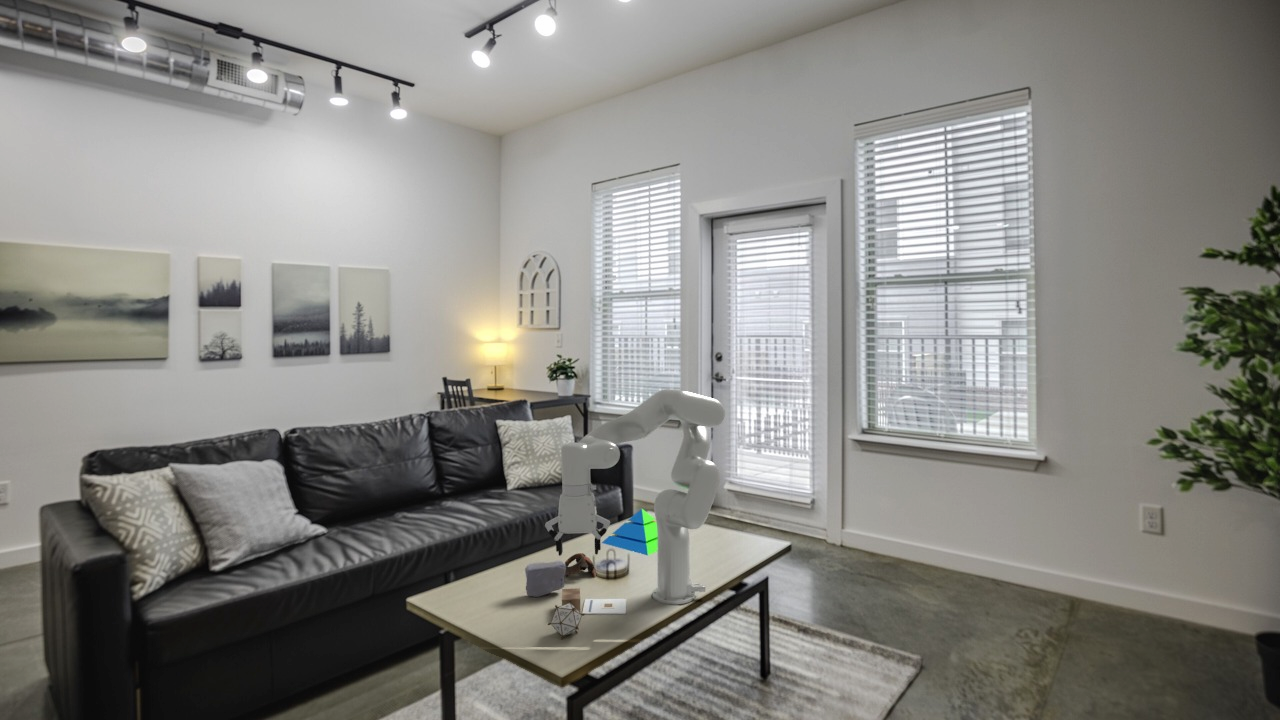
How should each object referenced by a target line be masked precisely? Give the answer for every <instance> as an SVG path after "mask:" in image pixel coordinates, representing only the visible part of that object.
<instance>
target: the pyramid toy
mask: <svg viewBox="0 0 1280 720" xmlns="http://www.w3.org/2000/svg"><path fill="white" fill-rule="evenodd" d="M601 544H604V545H608V546H612V547H615V548H619V549H623V550H627V551H630V552H633V551H634V552H633V553H637V554H640V553H641V555H645V556H651V555H652V554H654V553H656V552H657V553H658V548H657V544H658V535H657V523H656V517H655V518H654V516H652V515H651V514H650V513H648V512H647V511H646V510H645V509H643V508H641V509H639V510H638V511H637V512H636V513H635V514H634V515H633V516H631V517H630V518H629V519H627V521H626V522H624V523H623V524H622V525H620V526H619V527H618V528H617V529H616V530H615V531H613V533H611V535H609V536H608V537H607V538H605V539H603V541H602V542H601Z"/></svg>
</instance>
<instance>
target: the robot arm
mask: <svg viewBox="0 0 1280 720" xmlns="http://www.w3.org/2000/svg"><path fill="white" fill-rule="evenodd" d="M725 414H726V410H725V408H724V405H723V404H722V402H720V401H719V400H718V399H716V398H712V397H709V396H704V395H702V394H698V393H695V392H694V393H693V392H690V391H686V390H681V389H661V390H659V391H657V392H656V393H654V394H652V395H651V396H650V397H648V398H647V399H646V400H645V401H643V402H642V403H641V404H639V405H638V406H636V407H635V408H633V410H630V411H628V412H627V413H625V414H623V415H621V416H618V417H616V418H614V419H611V420H609V421H607V422H605V423H603V424H601V425H598V426H597V427H595V428H594V429H593V430H592V431H590V432H589V433H587V434H585V436H583V437H582V438H581V439H580V440H579V442H569V443H568V442H567V443H565V444H563V445H562V446H561V450H560V451H561V452H560V454H561V455H560V457H561V458H560V459H561V483H562V485H561V487H562V489H561V491H562V493H561V494H560V495H559V502H558V513H557V514H558V515H557V516H555V517H554V518H551V519H550V520H548V521H546V522H545V525H544V527H545V528H546V530H547V532H548V534H549V535H550V536H551V537H552V538H553V539H554V541H555V550H556V552H557V553H558V556H559V557H560V556H562V555H563V538H562V536H563V535H564V534H567V535H568V534H590V533H591V534H592V535H593V536H594V554H595V555H598V554H599V551H601V547H602V546H601V544H602V543H601V539H602V537H603V536H604V535H605V534H607V531H608V529H609V527H610V525H611V521H610V519H607V518H604V516H603V517H602V516H600V515H599V514H598V512H597V504H596V502H597V501H596V497H595V494H594V492H593V491H596V490H597V485H596V484H593V483H592V482H591V469H592V470H593V469H594V470H595V469H597V470H599V469H602V470H603V469H610V468H612V467H614V466H615V465H616V464H617V463H618V462H619V460H620V456H621V451H620V449H619V446H617V445H619V444H622V443H628V442H633V441H638V440H643V439H645V438H647V437H649V435H651V434H652V433H654V432H655V431H656V430H657V429H659V428H660V427H661V426H662V425H664V424H665V423H667V422H668V421H669V420H676V421H677V420H678V421H679V422H680V424H681V427H682V430H683V431H682V432H683V436H682V437H683V439H682V442H681V445H680V448H679V450H678V453H677V456H676V457H675V461H674V463H673V466H672V469H671V472H670V473H671V474H670V477H671V480H672V482H673V483H674V484H675V485H677V487H680V488H683V489H687V490H688V491H687V492H685V491H680V490H677V489H670V488H669V489H664V490H662V491H660V492H659V494H657V496H656V497H655V500H654V505H653V507H654V508H653V509H654V517H655V519H656V520H655V521H656V523H657V535H658V544H657V548H658V551H657V587H656V588H654V589H653V590H652V598H653V600H655V601H656V602H659V603H661V604H667V605H684V604H687V603H690V602H692V601H693V600H694V599H695V597H696V592H698V593H706V584H701V583H700V582H694V583H693V582H692V581H691V578H690V569H691V568H690V542H691V541H690V532H689V530H697V529H699V528H701V527H702V526H703V525H704V524H705V522H706V521H707V518H708V516H709V514H710V511H711V508H712V505H713V503H714V500H715V497H716V495H717V491H718V490H719V486H720V480H721V476H720V475H721V474H720V469H719V468H718V466H717V464H716V463H714V461H711V460H709V459H707V458H708V454H709V451H710V448H711V436H710V432H709V429H708V428H711V429H712V428H716V427H718V426H720V425H721V424H722V423H723V422H724V419H725V416H726V415H725ZM557 523H558V524H557ZM598 523H601V524H603V526H602V528H601V529H600V530H599V529H598V527H597V526H598ZM555 524H557V525H558V527H557V528H558V531H556V530H555V528H554V527H553V525H555Z"/></svg>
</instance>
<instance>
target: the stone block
mask: <svg viewBox="0 0 1280 720" xmlns="http://www.w3.org/2000/svg"><path fill="white" fill-rule="evenodd" d="M524 571H525V577H526V578H525V579H526V583H525V591H526V595H527V596H529V597H535V598H539V597H542V596H545V595H549V594H551V593H552V592H556V591H560V590H562V589H564V587H565V577H566V576H565V571H566V566H565V562H564V561H562V560H555V561H549V562H544V561H541V562H532V563H529V564H528V565H526V566H525V569H524Z"/></svg>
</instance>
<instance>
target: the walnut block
mask: <svg viewBox="0 0 1280 720" xmlns="http://www.w3.org/2000/svg"><path fill="white" fill-rule="evenodd" d="M570 600H571V604H572V605H573V606H574V607H575V608H576V609H577V610H578V611H579V612H580V613H581V588H580V587H579V588H577V587H575V588H562V589H561V606H562V605H565V604H568V603H570V602H569V601H570Z"/></svg>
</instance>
